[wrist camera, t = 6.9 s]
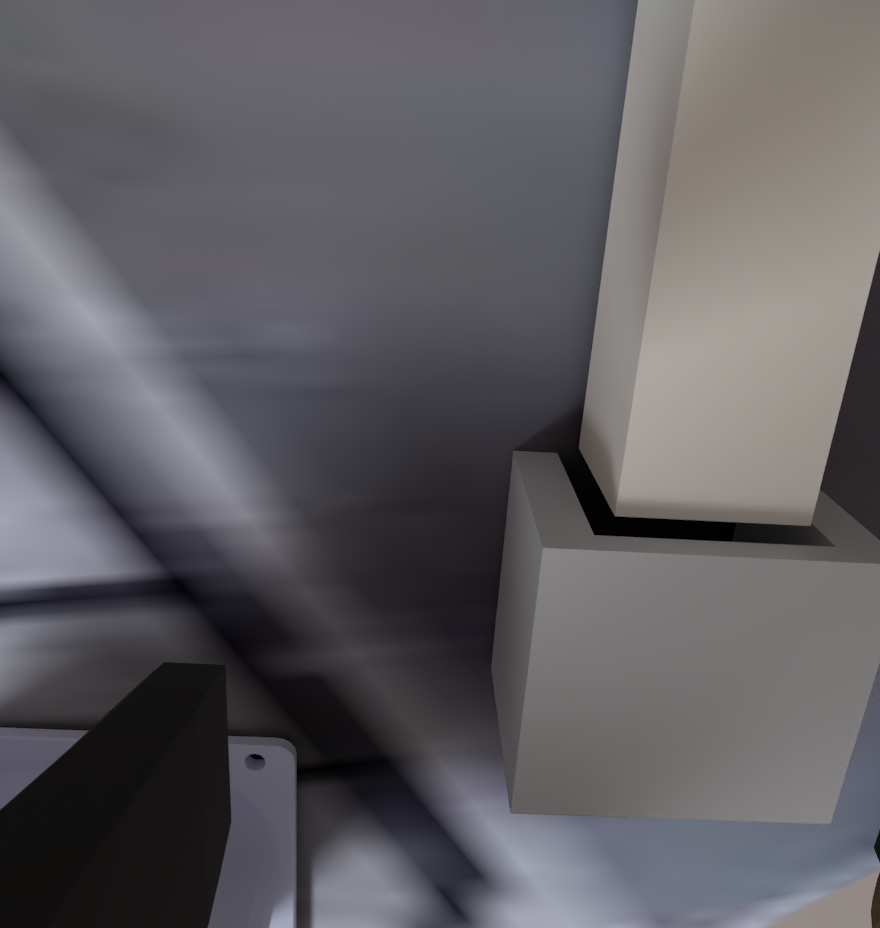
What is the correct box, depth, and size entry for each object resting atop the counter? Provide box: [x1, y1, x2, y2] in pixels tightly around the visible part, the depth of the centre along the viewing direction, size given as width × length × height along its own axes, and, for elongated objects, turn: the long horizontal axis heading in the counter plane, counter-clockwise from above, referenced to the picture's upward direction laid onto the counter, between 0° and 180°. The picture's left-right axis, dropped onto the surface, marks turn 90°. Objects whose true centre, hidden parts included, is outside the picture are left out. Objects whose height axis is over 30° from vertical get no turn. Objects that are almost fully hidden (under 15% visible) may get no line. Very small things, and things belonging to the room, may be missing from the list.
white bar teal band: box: [579, 0, 880, 526], centre depth 14 cm, size 5×12×4 cm, turn 176°
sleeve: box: [491, 451, 880, 824], centre depth 17 cm, size 6×6×5 cm
